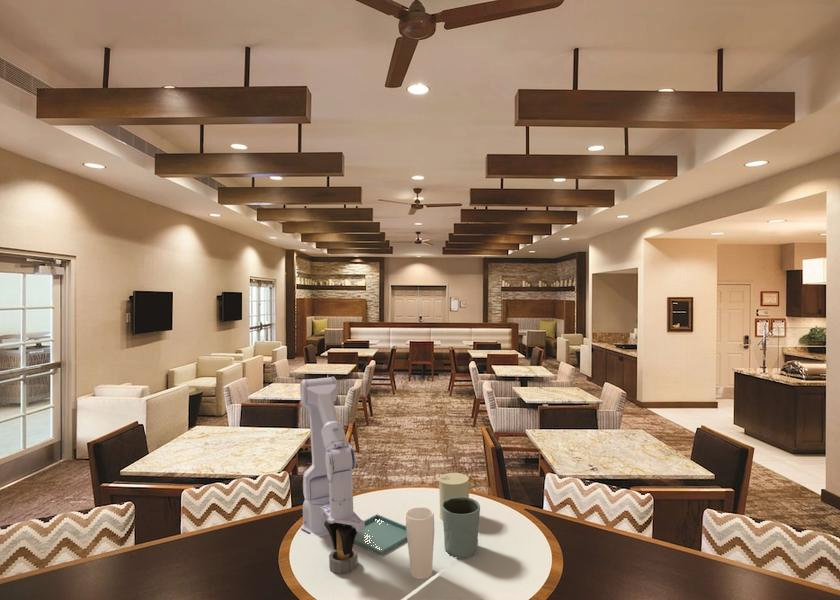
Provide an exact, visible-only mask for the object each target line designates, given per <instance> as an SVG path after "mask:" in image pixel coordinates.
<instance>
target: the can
mask: <svg viewBox="0 0 840 600" xmlns="http://www.w3.org/2000/svg"><path fill="white" fill-rule="evenodd" d="M469 481H470V477H469V476H468V475H466V474H465V473H459V472H446V473H443V474H441V475H439V477H438V489H439V492H438V493H439V515H438V516H439V518H440V520H441V521H443V516H442V503H443V502H444V501H445V500H447V499H449V498H453V497H467V498H470V485H469V484H470V482H469Z"/></svg>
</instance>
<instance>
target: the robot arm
mask: <svg viewBox="0 0 840 600" xmlns="http://www.w3.org/2000/svg"><path fill="white" fill-rule="evenodd" d="M299 394H300V404H301V407H302V408H305V409H307V412H308V415H309V418H308V419H309V430H310V431H309V432H310V445H311V446H310V449H311V463H312V464H311V465H310V466H309V467H308V468H307V469H306V470H305V471H304V472H303V476H302V477H303V480H302V492H303V496H304V501H303V504H302V526H301V527H300V530H303V531H304V532H306V533H309V534H313V535H314V536H316V537H319V538H322V537H325V536H327V535H328V534H329V536H330V539H331V543H332V546H333V549H334V550H337V538H336V530H337V529H338V532H339V534H340V536H341V540H342V548H343V553H344V555H347V554H349V553H351V552H352V548H353V549H354V544H355V543H354V540H355V537H356V534H357V532H360V531H362V530H364V529H365V521H364V520H363V519H362V518H360V517H359V516H358V514H357V513H356V512H355V511H354V493H353V492H354V490H353V484H354V483H353V470H355V468H356V455H355V451H354V448H353V447H352V445H351V443H350V442H348V440H347V437H346V432H345V429H344V425H343V424H342V423H340V422H339V421H337V420H338V419H337V414H336V407H335V403H334V402H336V401H337V397H338V394H339V384H338V379H336V377H335V376H331V377H330V376H329V377H319V378H310V379H304V378H303V379H302V380H301V382H300V385H299Z"/></svg>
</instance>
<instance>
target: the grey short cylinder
mask: <svg viewBox="0 0 840 600" xmlns="http://www.w3.org/2000/svg"><path fill="white" fill-rule="evenodd" d="M358 558H359V557H358V551H357V550H356V549H354V547H353V548H352V552H351V553H349V559H348V560H343V561H340V560H337V550H335V549H334V550H332V551H331V552H330V553H329V555H328V563H329V564H328V565H329V566H328V567H329V570H330V572H332V573H333V574H337V575H345V574H349V573H351V572H354V571H355V570H356V569H357V567H358V566H359V565H358V563H359V561H358Z"/></svg>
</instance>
